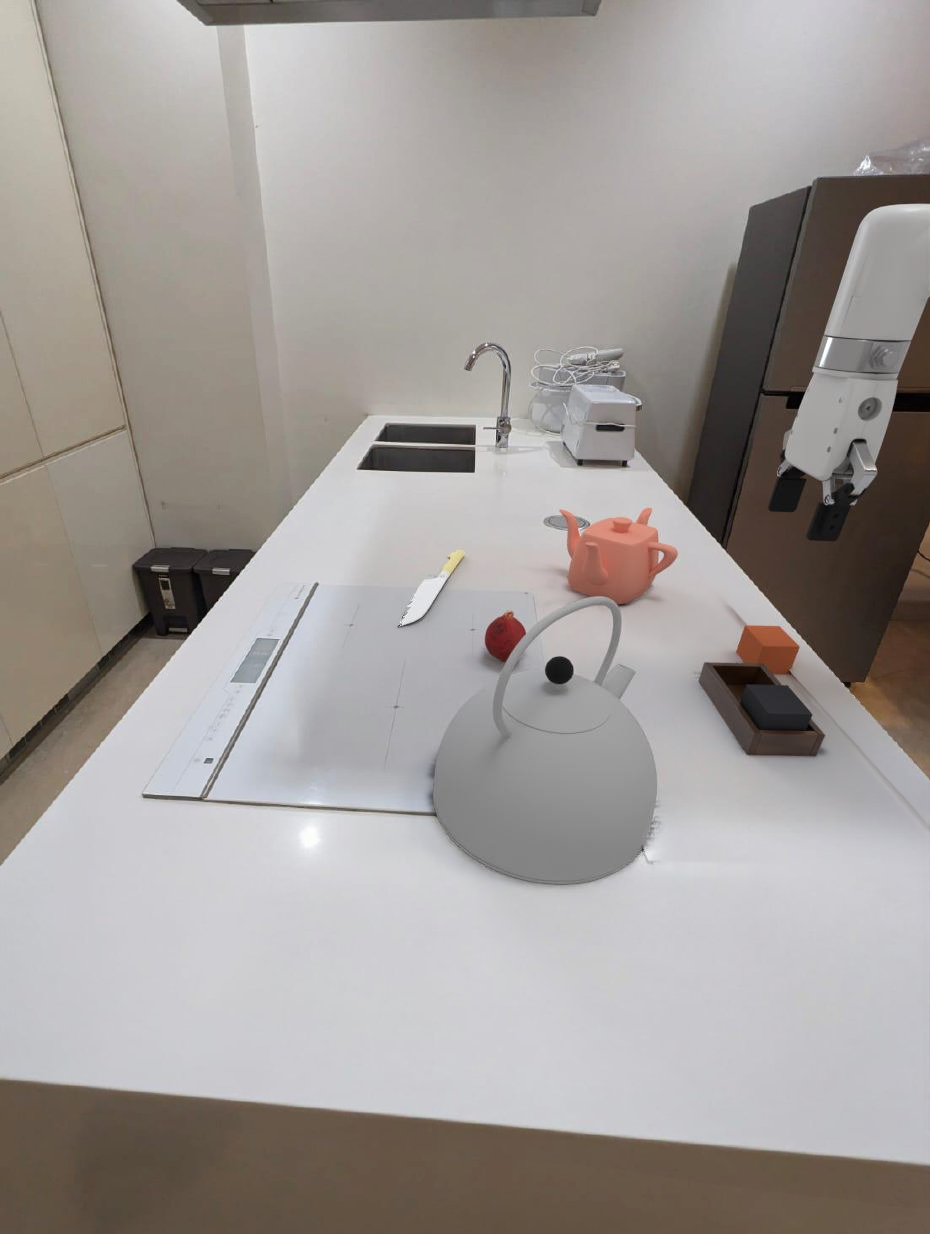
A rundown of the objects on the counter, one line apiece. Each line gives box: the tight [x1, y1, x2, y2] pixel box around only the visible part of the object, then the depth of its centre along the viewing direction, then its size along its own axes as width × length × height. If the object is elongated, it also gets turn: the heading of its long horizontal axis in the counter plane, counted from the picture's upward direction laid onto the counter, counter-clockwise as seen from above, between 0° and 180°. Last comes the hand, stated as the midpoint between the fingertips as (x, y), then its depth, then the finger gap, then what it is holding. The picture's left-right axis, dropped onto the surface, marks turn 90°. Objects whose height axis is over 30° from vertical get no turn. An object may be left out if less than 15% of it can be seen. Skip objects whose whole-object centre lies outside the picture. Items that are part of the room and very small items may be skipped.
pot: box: [558, 507, 679, 605], centre depth 109 cm, size 18×17×12 cm
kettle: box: [432, 596, 658, 885], centre depth 61 cm, size 25×23×23 cm
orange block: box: [735, 624, 801, 675], centre depth 89 cm, size 5×6×5 cm
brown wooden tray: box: [698, 661, 826, 757], centre depth 78 cm, size 8×16×4 cm, turn 0°
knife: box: [399, 549, 466, 627], centre depth 111 cm, size 1×33×5 cm
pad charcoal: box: [740, 684, 814, 731], centre depth 75 cm, size 5×6×5 cm
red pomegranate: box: [484, 609, 527, 663], centre depth 88 cm, size 6×6×8 cm
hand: (799, 524), depth 72 cm, fingers open, 9 cm apart
